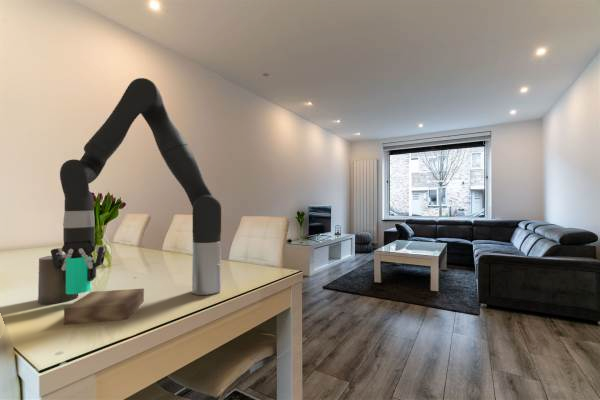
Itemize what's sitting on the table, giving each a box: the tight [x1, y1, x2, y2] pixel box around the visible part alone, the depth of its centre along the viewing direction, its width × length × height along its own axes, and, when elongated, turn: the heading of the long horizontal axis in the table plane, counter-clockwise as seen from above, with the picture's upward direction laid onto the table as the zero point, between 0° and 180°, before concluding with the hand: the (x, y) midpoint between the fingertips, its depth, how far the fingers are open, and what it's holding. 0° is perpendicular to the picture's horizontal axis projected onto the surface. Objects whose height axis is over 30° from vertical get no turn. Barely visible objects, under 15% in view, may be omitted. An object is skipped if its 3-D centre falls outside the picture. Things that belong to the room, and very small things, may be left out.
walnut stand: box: [63, 288, 145, 325], centre depth 77 cm, size 14×14×4 cm
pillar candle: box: [37, 253, 79, 305], centre depth 88 cm, size 10×10×15 cm
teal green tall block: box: [66, 256, 92, 295], centre depth 84 cm, size 6×6×12 cm
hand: (79, 281), depth 84 cm, fingers closed on teal green tall block, 5 cm apart
